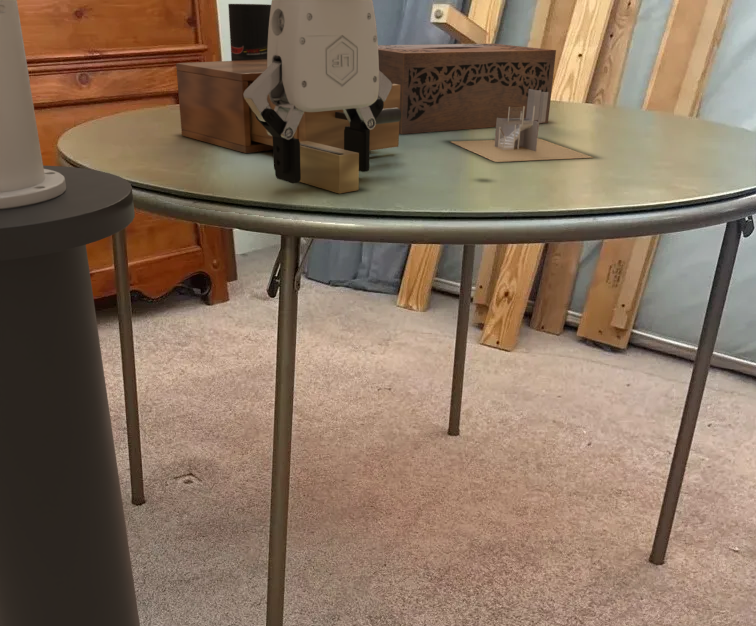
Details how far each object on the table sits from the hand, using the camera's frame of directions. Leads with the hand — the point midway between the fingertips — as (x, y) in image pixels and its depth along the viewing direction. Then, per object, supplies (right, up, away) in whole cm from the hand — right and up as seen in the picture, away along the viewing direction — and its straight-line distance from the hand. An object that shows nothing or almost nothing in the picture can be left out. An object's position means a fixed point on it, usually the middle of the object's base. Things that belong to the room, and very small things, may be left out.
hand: (323, 173), depth 77 cm
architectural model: (+21, +6, +16) cm, 27 cm away
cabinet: (-9, +10, +23) cm, 27 cm away
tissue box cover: (+16, +18, +40) cm, 46 cm away
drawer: (0, +7, +14) cm, 15 cm away
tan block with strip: (0, -1, 0) cm, 1 cm away
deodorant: (-13, +18, +39) cm, 44 cm away
